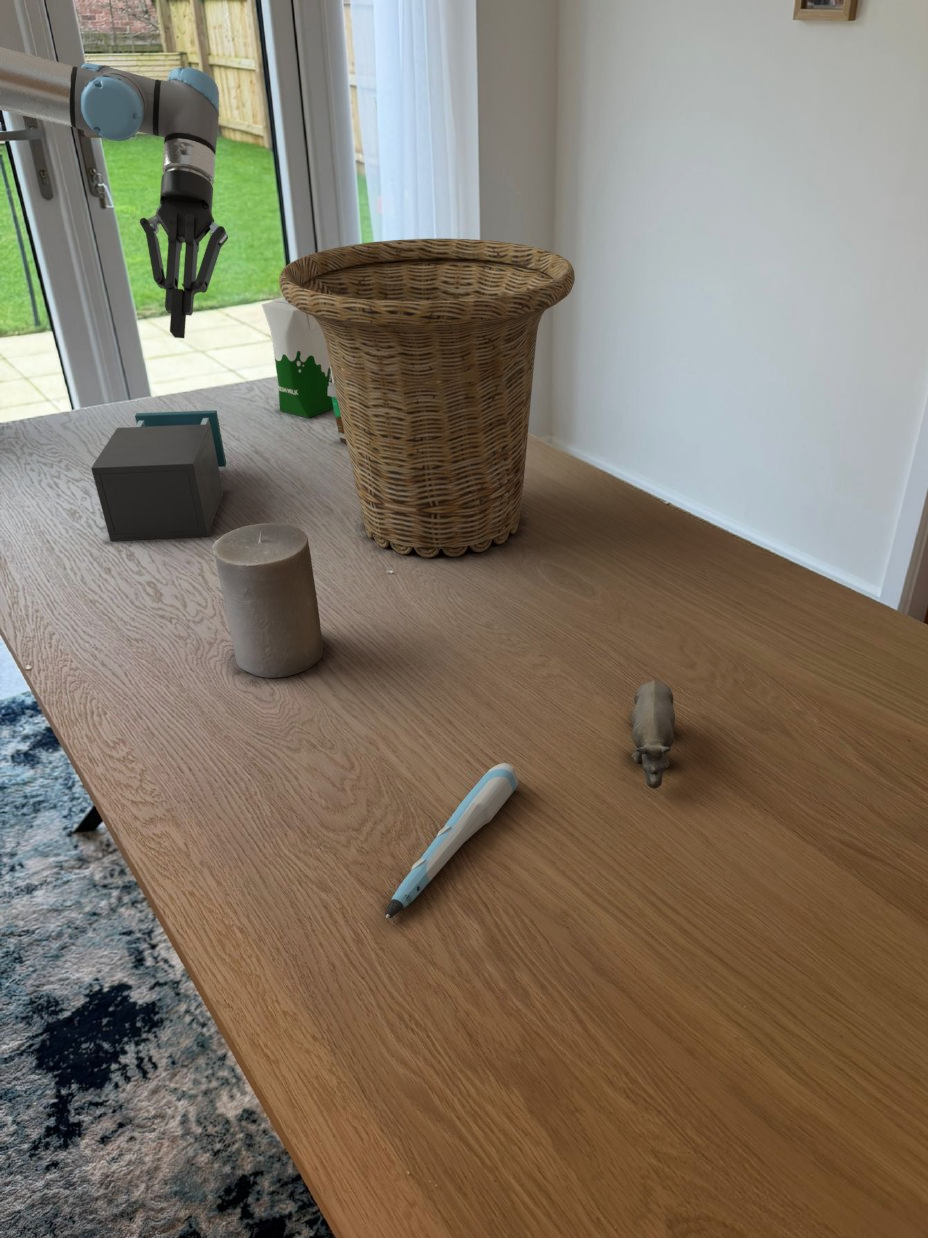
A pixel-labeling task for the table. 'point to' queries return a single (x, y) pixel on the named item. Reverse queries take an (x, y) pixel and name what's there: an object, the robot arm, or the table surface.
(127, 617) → the table surface
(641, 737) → the rhino figurine
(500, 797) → the pen
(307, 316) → the milk carton
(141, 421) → the tray
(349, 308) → the wicker basket
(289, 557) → the pillar candle
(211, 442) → the dark gray box
